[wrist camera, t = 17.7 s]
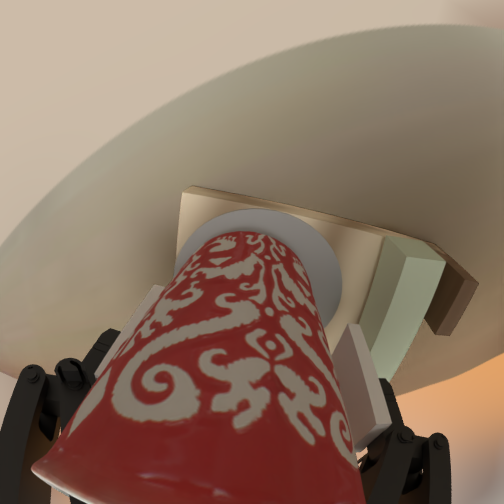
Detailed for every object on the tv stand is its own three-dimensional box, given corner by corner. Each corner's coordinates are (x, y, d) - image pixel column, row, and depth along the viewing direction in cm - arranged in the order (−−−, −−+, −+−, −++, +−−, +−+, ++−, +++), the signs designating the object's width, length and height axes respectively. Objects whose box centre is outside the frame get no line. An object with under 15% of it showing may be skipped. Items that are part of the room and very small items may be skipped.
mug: (140, 271, 16) (10, 460, 4) (257, 176, 13) (144, 534, 1) (264, 387, 19) (252, 551, 7) (370, 334, 17) (426, 522, 4)
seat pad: (364, 231, 15) (366, 233, 15) (311, 361, 20) (311, 364, 20) (182, 192, 15) (180, 193, 15) (172, 334, 20) (171, 337, 19)
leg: (361, 391, 21) (369, 427, 17) (324, 392, 21) (329, 430, 17) (425, 240, 15) (458, 269, 11) (378, 233, 15) (407, 263, 11)
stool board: (435, 244, 17) (479, 283, 12) (367, 373, 23) (381, 422, 18) (191, 185, 17) (154, 211, 12) (178, 344, 23) (158, 395, 17)
